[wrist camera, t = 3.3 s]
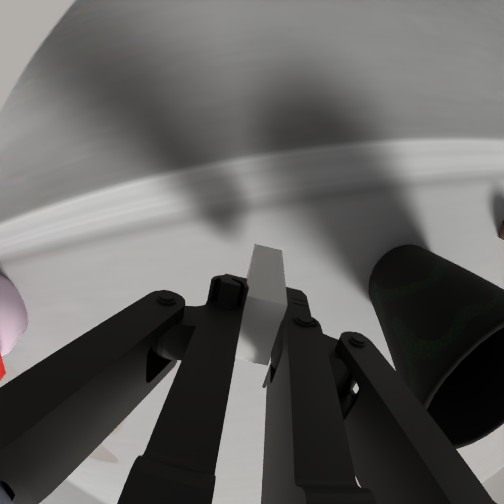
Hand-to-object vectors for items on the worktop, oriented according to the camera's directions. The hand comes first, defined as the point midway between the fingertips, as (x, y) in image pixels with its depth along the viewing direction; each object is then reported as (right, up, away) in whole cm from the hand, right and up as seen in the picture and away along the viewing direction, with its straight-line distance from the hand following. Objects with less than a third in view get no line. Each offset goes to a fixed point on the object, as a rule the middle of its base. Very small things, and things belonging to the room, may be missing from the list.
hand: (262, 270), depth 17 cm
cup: (+10, -1, +3) cm, 11 cm away
